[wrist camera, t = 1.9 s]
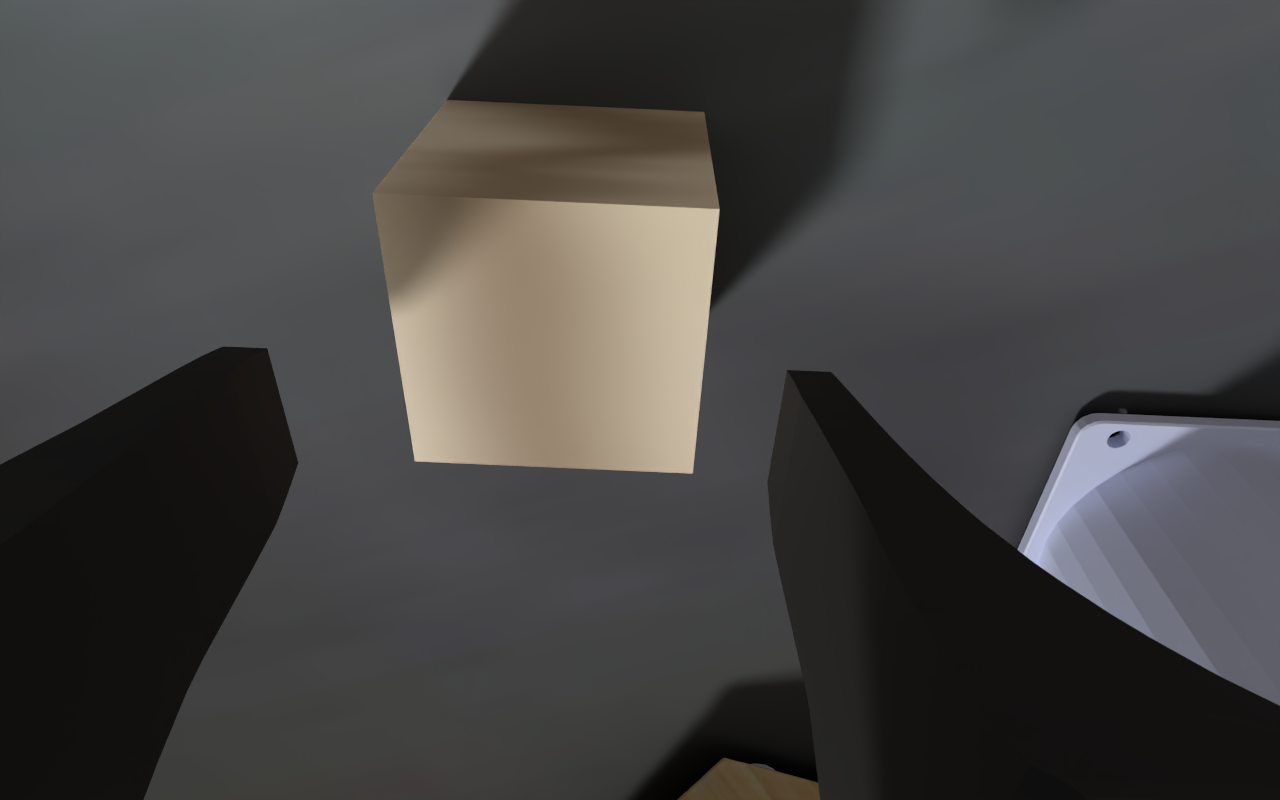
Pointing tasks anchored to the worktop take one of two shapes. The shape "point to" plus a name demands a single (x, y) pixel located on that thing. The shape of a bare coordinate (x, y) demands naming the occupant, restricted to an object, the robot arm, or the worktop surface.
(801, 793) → the knife block
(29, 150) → the worktop surface
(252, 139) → the worktop surface
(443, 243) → the beech block
